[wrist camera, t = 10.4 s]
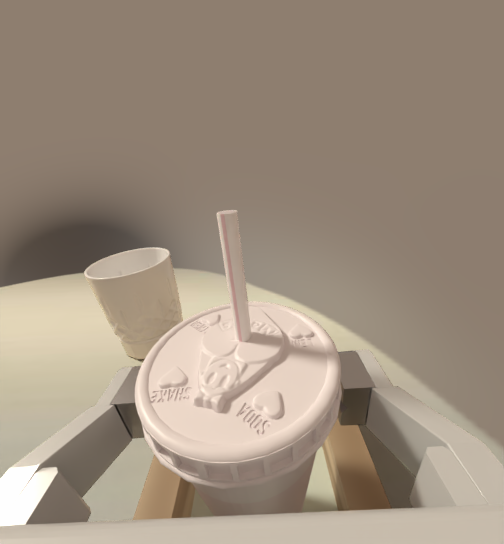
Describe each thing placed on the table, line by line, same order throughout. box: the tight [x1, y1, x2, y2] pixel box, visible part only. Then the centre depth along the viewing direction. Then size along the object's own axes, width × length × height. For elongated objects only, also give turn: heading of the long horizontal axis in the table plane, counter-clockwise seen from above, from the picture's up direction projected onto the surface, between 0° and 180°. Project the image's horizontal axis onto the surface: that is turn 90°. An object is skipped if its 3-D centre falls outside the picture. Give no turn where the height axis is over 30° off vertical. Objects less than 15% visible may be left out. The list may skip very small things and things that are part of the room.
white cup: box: [84, 248, 183, 359], centre depth 26 cm, size 8×8×10 cm
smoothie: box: [135, 210, 342, 516], centre depth 9 cm, size 6×6×14 cm
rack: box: [133, 417, 392, 520], centre depth 13 cm, size 12×12×3 cm
